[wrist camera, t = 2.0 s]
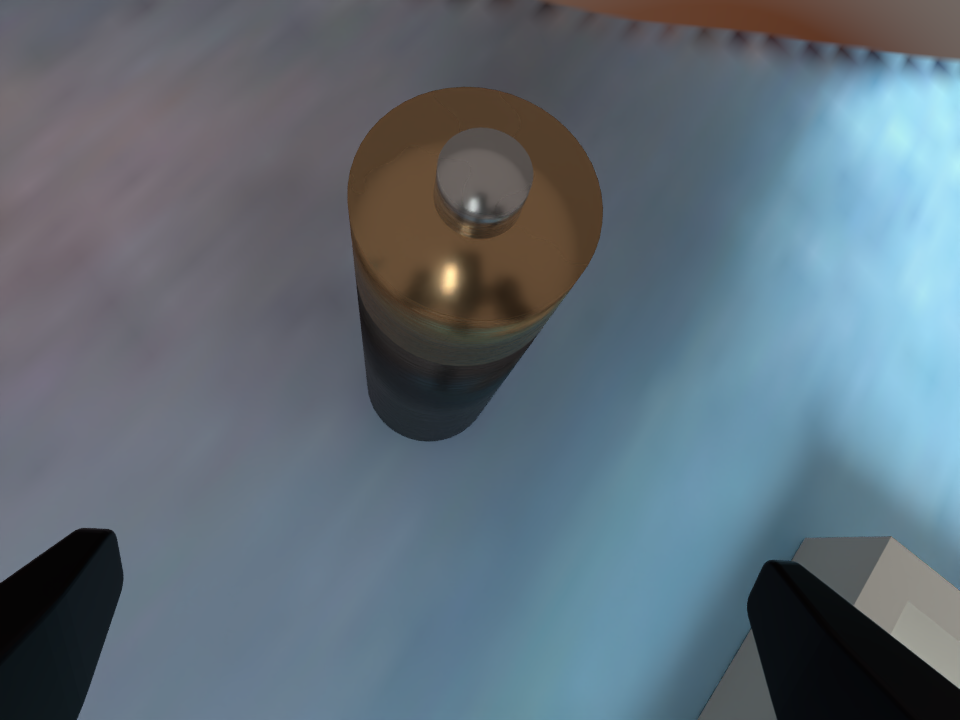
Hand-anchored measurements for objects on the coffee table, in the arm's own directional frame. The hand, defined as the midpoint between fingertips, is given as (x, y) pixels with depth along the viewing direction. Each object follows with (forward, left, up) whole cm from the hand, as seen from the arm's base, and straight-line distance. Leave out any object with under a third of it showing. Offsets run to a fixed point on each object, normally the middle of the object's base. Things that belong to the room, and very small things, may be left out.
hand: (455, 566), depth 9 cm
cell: (+4, +3, -12) cm, 13 cm away
